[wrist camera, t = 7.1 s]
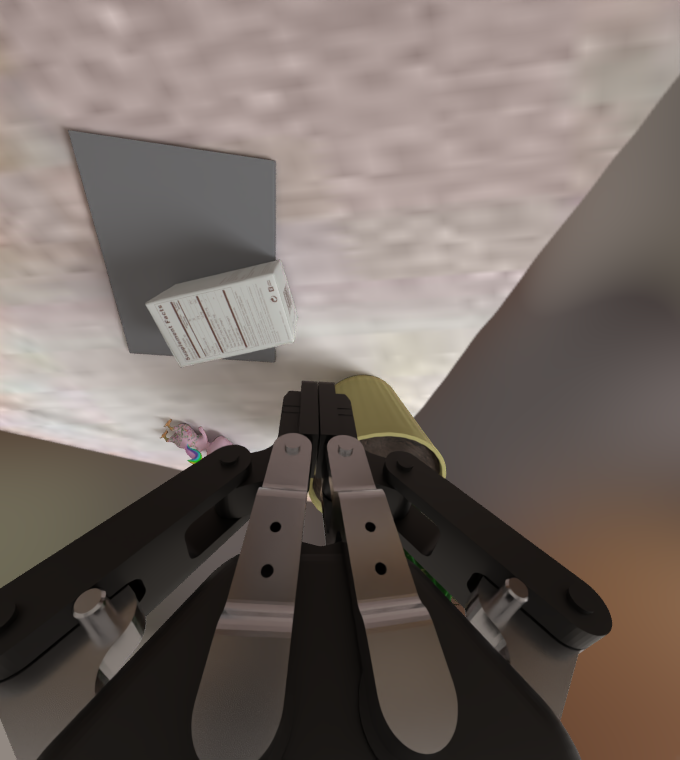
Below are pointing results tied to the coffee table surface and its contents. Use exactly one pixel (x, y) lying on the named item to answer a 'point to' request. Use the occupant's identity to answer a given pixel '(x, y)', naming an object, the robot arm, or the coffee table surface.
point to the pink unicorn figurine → (193, 441)
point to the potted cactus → (384, 433)
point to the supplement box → (226, 314)
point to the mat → (173, 222)
